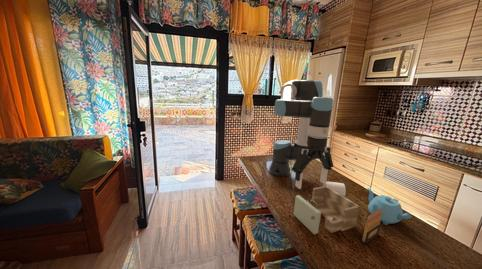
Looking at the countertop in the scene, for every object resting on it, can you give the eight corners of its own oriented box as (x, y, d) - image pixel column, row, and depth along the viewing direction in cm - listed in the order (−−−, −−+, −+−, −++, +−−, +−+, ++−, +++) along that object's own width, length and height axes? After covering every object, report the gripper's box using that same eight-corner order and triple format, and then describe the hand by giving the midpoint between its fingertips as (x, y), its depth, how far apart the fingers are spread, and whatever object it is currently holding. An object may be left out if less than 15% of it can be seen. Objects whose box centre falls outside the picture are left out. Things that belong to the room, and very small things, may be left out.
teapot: (365, 221, 88) (370, 199, 85) (363, 206, 100) (367, 186, 97) (407, 233, 81) (414, 210, 78) (399, 216, 93) (405, 195, 90)
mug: (344, 200, 104) (346, 187, 102) (325, 198, 106) (327, 185, 104) (338, 190, 116) (340, 178, 114) (320, 187, 118) (322, 175, 116)
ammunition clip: (365, 243, 75) (371, 217, 72) (360, 240, 76) (366, 214, 73) (378, 234, 80) (384, 209, 77) (373, 231, 82) (379, 206, 79)
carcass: (302, 208, 96) (304, 190, 93) (323, 202, 101) (325, 185, 99) (332, 234, 79) (336, 213, 76) (356, 226, 84) (360, 206, 82)
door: (291, 215, 90) (293, 196, 88) (296, 213, 91) (299, 195, 89) (312, 235, 78) (315, 213, 76) (317, 233, 79) (321, 212, 77)
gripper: (298, 140, 67) (292, 194, 72) (347, 136, 77) (339, 184, 82) (286, 135, 74) (281, 185, 79) (332, 132, 84) (325, 177, 89)
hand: (310, 184), depth 80 cm, fingers open, 13 cm apart
